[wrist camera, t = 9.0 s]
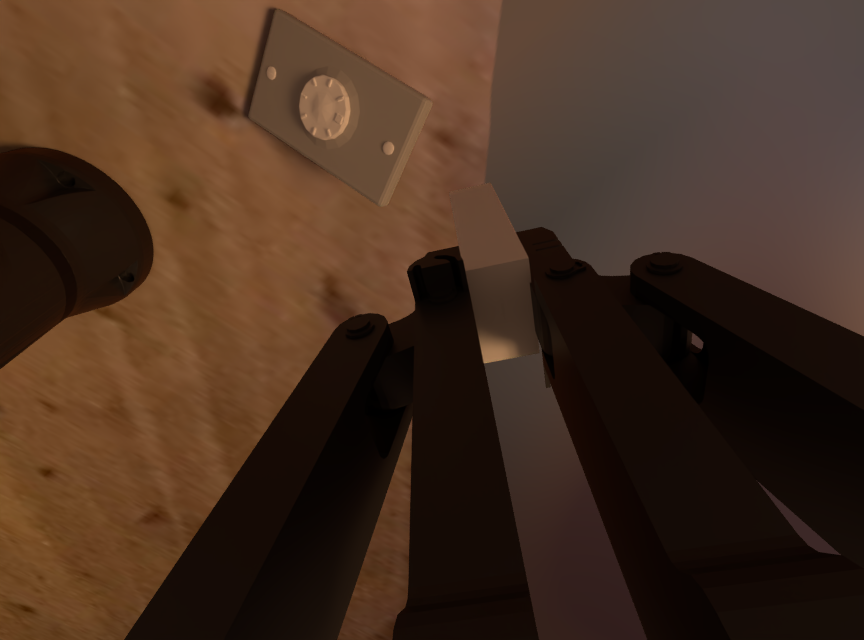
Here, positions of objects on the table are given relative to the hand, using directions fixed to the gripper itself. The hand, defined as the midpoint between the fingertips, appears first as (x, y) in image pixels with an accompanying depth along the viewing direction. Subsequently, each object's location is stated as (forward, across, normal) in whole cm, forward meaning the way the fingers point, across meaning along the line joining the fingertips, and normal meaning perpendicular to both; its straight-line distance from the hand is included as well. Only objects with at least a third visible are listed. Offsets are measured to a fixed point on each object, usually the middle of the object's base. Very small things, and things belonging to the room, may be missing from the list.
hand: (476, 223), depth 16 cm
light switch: (+26, -8, +3) cm, 28 cm away
